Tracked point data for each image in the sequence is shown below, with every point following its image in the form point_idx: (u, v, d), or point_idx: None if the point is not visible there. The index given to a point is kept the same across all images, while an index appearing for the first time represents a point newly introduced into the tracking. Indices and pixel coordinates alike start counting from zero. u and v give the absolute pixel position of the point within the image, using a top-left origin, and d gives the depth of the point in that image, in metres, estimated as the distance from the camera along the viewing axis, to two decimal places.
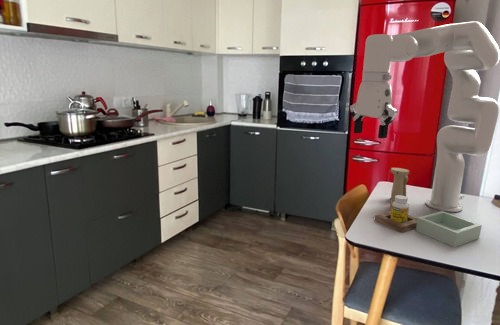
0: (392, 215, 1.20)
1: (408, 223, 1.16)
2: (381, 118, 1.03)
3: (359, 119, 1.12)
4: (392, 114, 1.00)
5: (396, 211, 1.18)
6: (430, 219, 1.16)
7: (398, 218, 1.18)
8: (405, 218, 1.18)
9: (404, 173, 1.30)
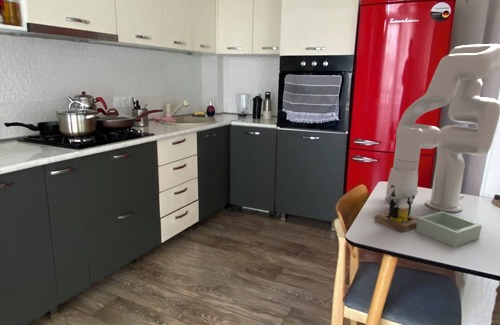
0: None
1: (408, 223, 1.16)
2: (411, 198, 1.20)
3: None
4: (415, 194, 1.21)
5: None
6: (430, 219, 1.16)
7: (398, 218, 1.18)
8: (405, 218, 1.18)
9: None
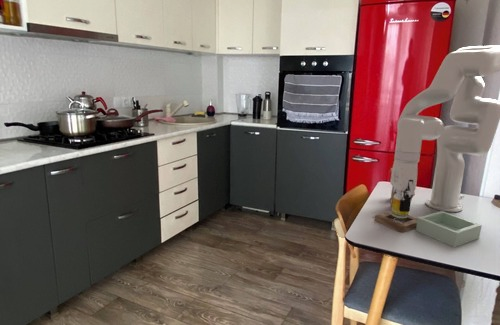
0: None
1: (408, 223, 1.16)
2: None
3: None
4: None
5: None
6: (430, 219, 1.16)
7: None
8: None
9: None
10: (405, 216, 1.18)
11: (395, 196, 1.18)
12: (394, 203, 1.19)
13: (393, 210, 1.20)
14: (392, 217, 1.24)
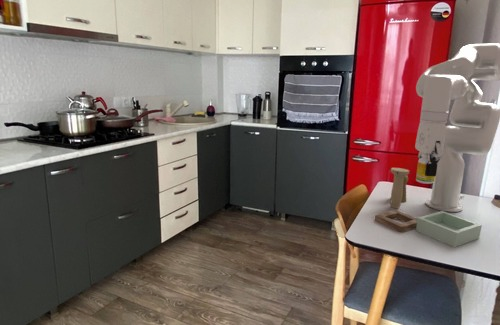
0: None
1: (408, 223, 1.16)
2: None
3: None
4: None
5: None
6: (430, 219, 1.16)
7: None
8: None
9: (404, 173, 1.30)
10: (431, 181, 1.12)
11: (420, 160, 1.12)
12: (419, 168, 1.13)
13: (418, 175, 1.13)
14: (392, 217, 1.24)
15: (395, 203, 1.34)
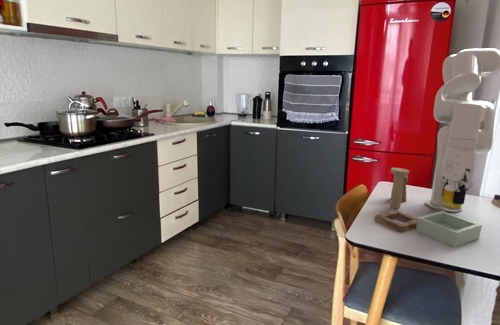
0: None
1: (408, 223, 1.16)
2: None
3: None
4: None
5: None
6: (430, 219, 1.16)
7: None
8: None
9: (404, 173, 1.30)
10: (458, 209, 1.09)
11: (447, 187, 1.09)
12: (446, 195, 1.09)
13: (444, 203, 1.10)
14: (392, 217, 1.24)
15: (395, 203, 1.34)
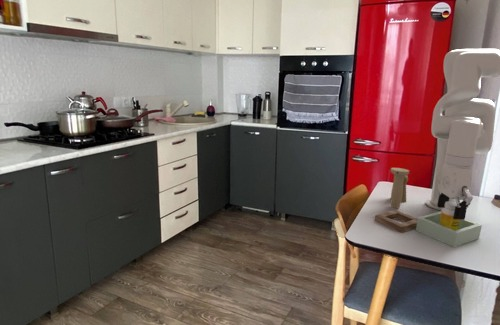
0: (451, 225, 1.10)
1: (408, 223, 1.16)
2: None
3: None
4: None
5: (457, 219, 1.09)
6: (430, 219, 1.16)
7: (457, 226, 1.10)
8: None
9: (404, 173, 1.30)
10: None
11: (444, 211, 1.11)
12: (443, 218, 1.11)
13: None
14: (392, 217, 1.24)
15: (395, 203, 1.34)
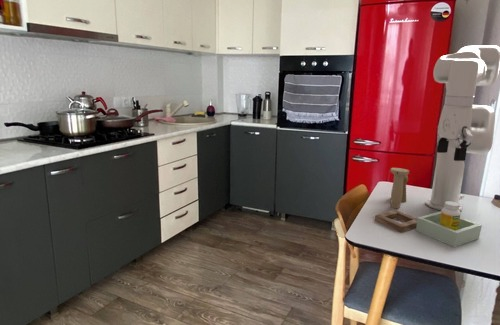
0: (451, 225, 1.10)
1: (408, 223, 1.16)
2: None
3: None
4: None
5: (457, 219, 1.09)
6: (430, 219, 1.16)
7: (457, 226, 1.10)
8: None
9: (404, 173, 1.30)
10: None
11: (444, 211, 1.11)
12: (443, 218, 1.11)
13: None
14: (392, 217, 1.24)
15: (395, 203, 1.34)
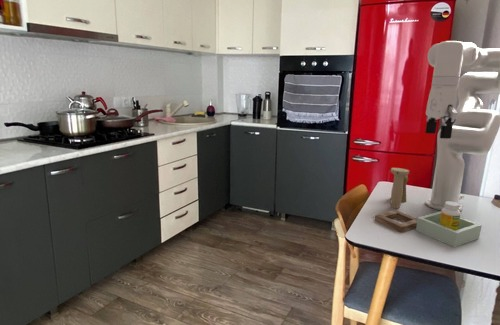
0: (451, 225, 1.10)
1: (408, 223, 1.16)
2: None
3: None
4: None
5: (457, 219, 1.09)
6: (430, 219, 1.16)
7: (457, 226, 1.10)
8: None
9: (404, 173, 1.30)
10: None
11: (444, 211, 1.11)
12: (443, 218, 1.11)
13: None
14: (392, 217, 1.24)
15: (395, 203, 1.34)
